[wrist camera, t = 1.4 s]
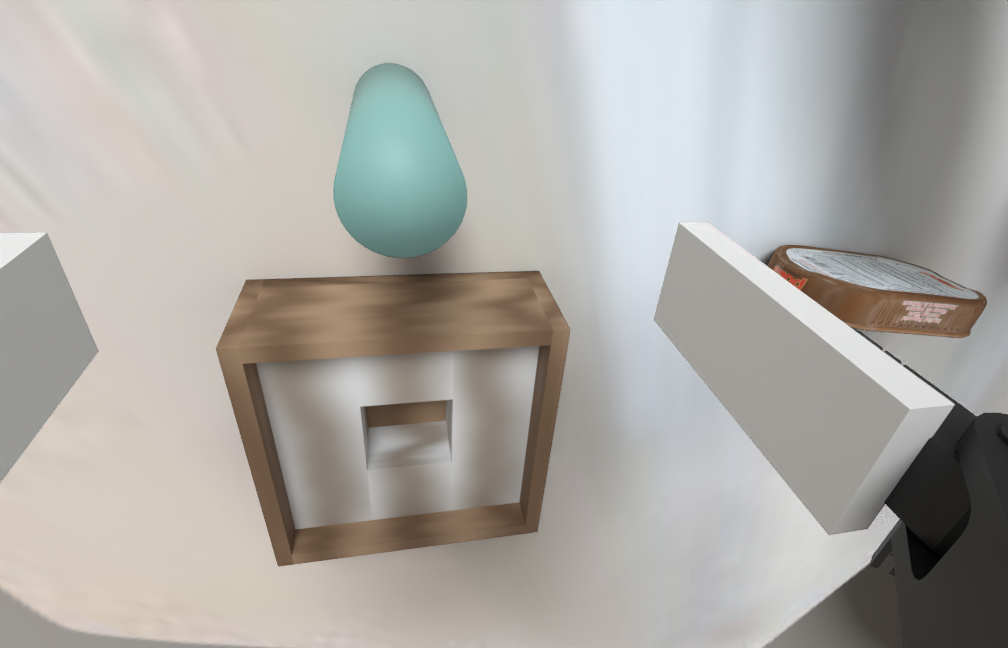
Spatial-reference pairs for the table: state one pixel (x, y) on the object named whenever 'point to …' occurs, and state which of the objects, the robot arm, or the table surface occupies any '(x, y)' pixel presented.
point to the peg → (397, 168)
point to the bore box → (395, 407)
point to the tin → (880, 291)
